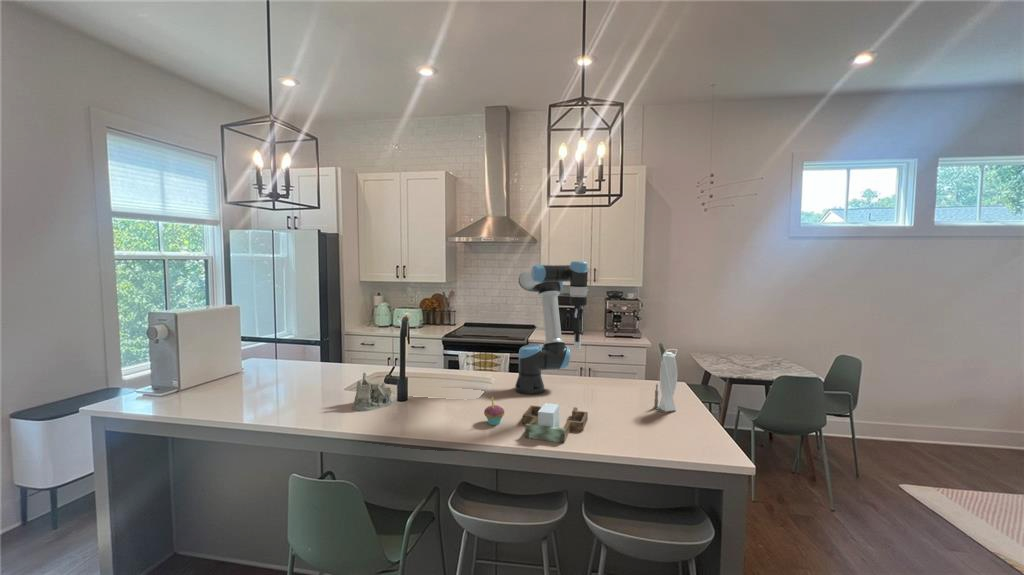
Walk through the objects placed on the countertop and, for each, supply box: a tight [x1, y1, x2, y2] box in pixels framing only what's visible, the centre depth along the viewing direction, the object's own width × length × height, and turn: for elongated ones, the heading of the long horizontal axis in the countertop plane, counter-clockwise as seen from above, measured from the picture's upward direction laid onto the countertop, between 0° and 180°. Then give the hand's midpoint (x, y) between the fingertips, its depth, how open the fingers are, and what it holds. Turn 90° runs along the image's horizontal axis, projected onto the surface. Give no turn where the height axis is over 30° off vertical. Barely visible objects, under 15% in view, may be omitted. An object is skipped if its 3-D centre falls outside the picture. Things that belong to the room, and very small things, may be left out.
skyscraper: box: [653, 348, 679, 413], centre depth 196 cm, size 8×8×28 cm
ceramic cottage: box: [351, 372, 392, 412], centre depth 199 cm, size 16×16×15 cm
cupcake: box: [483, 396, 505, 426], centre depth 179 cm, size 9×8×12 cm
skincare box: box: [538, 402, 560, 428], centre depth 169 cm, size 10×6×10 cm, turn 161°
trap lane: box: [522, 405, 589, 444], centre depth 177 cm, size 25×30×5 cm
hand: (577, 348), depth 193 cm, fingers closed
